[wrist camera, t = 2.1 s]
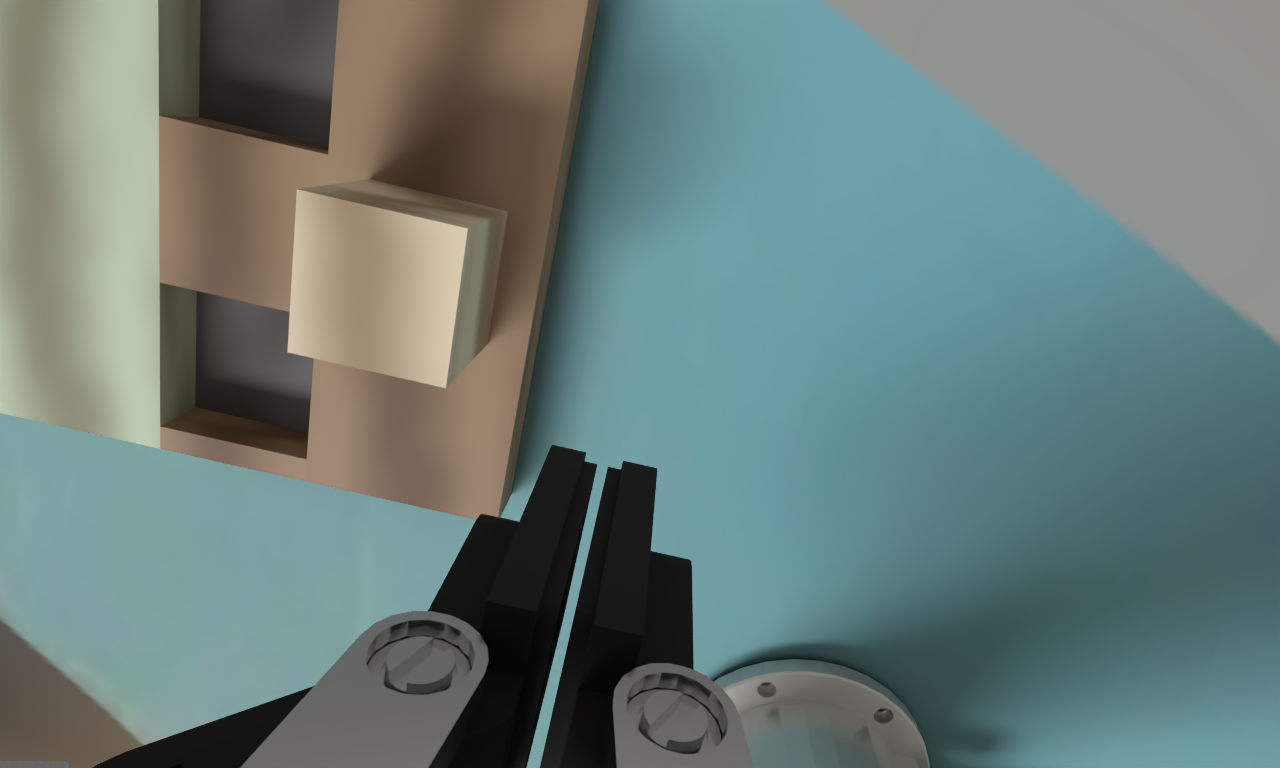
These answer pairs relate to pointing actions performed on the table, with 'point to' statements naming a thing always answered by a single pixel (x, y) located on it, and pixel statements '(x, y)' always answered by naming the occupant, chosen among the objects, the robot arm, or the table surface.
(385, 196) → the maple block
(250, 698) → the table surface
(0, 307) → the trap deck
